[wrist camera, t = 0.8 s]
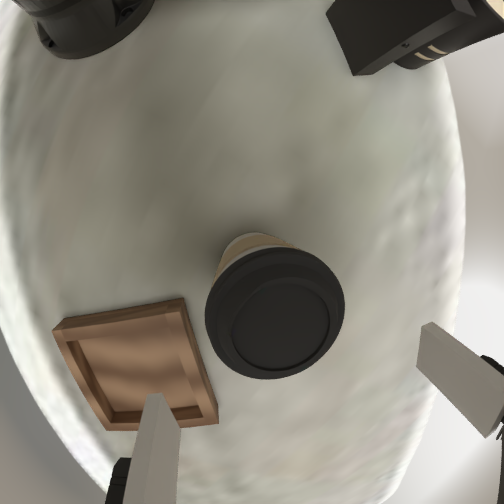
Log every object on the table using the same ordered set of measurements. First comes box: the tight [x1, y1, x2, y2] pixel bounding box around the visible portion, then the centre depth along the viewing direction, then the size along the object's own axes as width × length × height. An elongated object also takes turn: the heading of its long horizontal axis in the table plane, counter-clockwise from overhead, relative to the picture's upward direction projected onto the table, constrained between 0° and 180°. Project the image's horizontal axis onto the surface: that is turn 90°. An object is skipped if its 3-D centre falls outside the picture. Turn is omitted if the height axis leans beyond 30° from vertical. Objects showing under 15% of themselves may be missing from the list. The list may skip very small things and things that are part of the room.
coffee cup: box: [205, 232, 345, 379], centre depth 23 cm, size 9×9×15 cm
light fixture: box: [326, 0, 504, 76], centre depth 17 cm, size 10×14×18 cm
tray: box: [52, 298, 219, 431], centre depth 30 cm, size 16×16×4 cm
